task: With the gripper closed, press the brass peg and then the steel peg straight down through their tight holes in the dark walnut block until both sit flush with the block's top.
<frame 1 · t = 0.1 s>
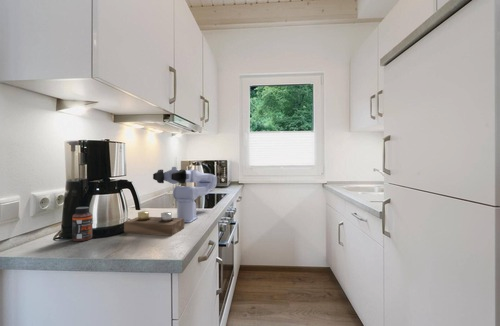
hand: (163, 176, 99), 22 cm above the worktop, tool horizontal, fingers open, 7 cm apart
brass peg: (143, 216, 103), point 5 cm above the worktop, slide at 3.0 cm
steel peg: (166, 217, 102), point 5 cm above the worktop, slide at 3.0 cm
walnut block: (154, 230, 103), on the worktop
supplement bottle: (82, 239, 92), on the worktop
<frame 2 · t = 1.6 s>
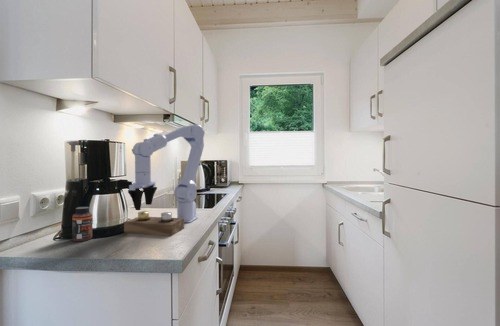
hand: (143, 206, 103), 9 cm above the worktop, tool pointing down, fingers open, 7 cm apart
nothing on the worktop moved.
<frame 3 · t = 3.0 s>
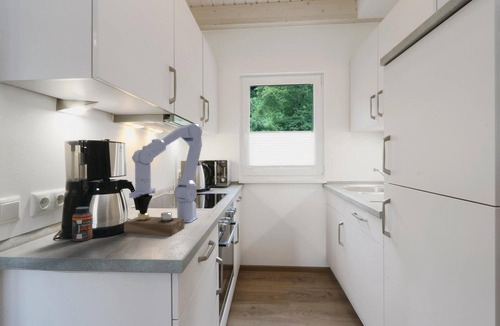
hand: (143, 213, 103), 6 cm above the worktop, tool pointing down, fingers closed, pressing on brass peg
brass peg: (143, 217, 104), point 5 cm above the worktop, slide at 2.5 cm, touching gripper
everything else where it was.
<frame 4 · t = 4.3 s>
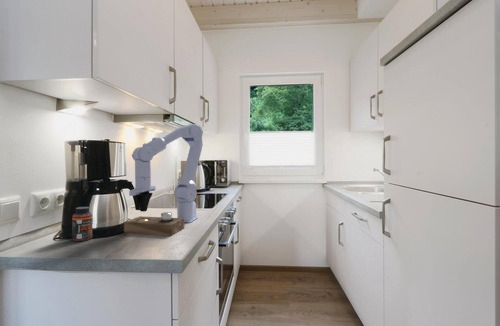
hand: (143, 211, 103), 7 cm above the worktop, tool pointing down, fingers closed
brass peg: (143, 224, 104), point 2 cm above the worktop, slide at -0.1 cm
everything else where it was.
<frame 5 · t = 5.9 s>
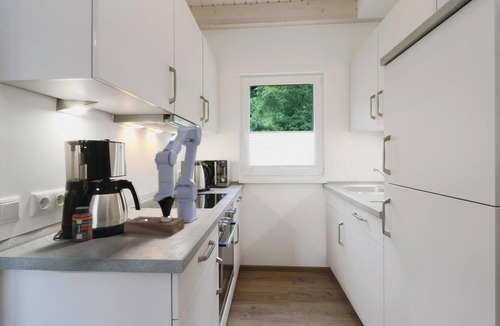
hand: (166, 216, 102), 6 cm above the worktop, tool pointing down, fingers closed, pressing on steel peg
steel peg: (166, 220, 102), point 4 cm above the worktop, slide at 1.8 cm, touching gripper
everything else where it was.
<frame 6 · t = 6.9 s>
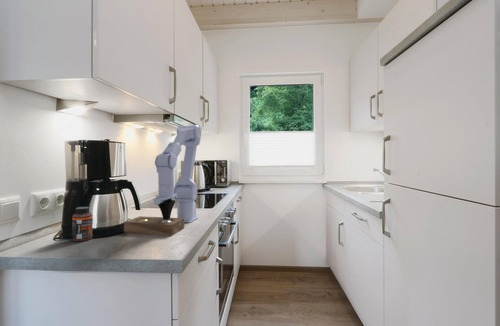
hand: (166, 219, 102), 5 cm above the worktop, tool pointing down, fingers closed
steel peg: (166, 225, 102), point 2 cm above the worktop, slide at -0.1 cm
everything else where it was.
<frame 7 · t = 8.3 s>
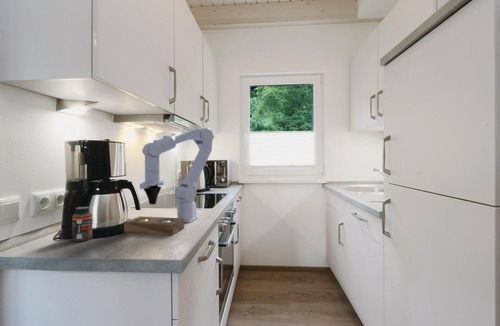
hand: (152, 204, 108), 9 cm above the worktop, tool pointing down, fingers closed
nothing on the worktop moved.
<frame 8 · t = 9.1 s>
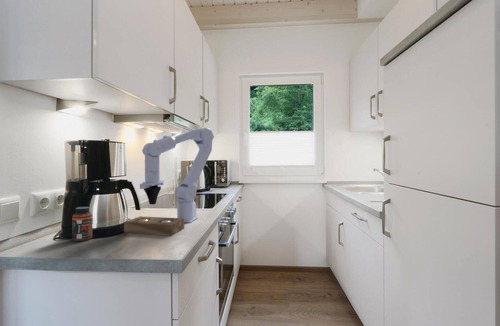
hand: (152, 204, 108), 9 cm above the worktop, tool pointing down, fingers closed
nothing on the worktop moved.
at the end: brass peg slide at -0.1 cm; steel peg slide at -0.1 cm; supplement bottle moved 0.2 cm from its start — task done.
